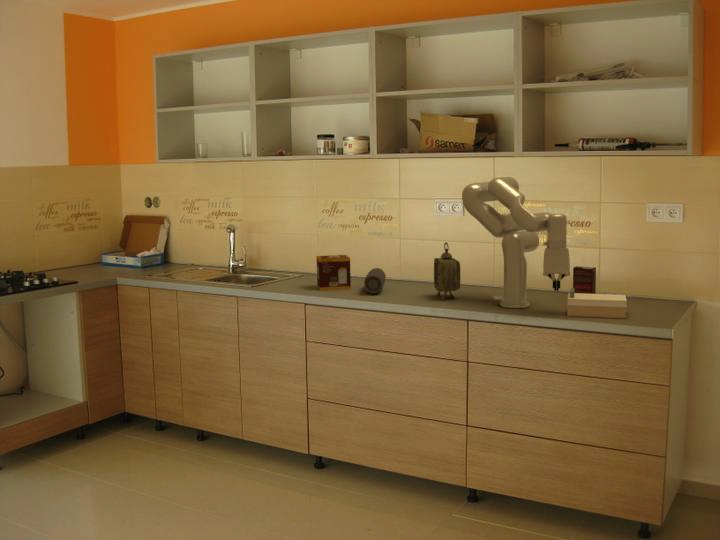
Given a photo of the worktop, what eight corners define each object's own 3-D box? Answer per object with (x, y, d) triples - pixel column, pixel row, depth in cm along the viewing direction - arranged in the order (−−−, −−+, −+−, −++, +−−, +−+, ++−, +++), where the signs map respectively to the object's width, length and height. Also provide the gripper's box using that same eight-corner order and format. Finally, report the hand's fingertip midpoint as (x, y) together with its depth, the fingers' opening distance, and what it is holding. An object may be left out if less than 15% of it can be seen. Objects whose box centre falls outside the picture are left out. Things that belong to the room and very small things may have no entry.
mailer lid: (567, 305, 313) (567, 292, 312) (568, 299, 325) (568, 287, 324) (626, 307, 307) (626, 294, 306) (625, 301, 319) (625, 288, 318)
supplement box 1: (316, 287, 390) (316, 255, 387) (347, 285, 392) (347, 254, 390) (319, 290, 379) (318, 258, 377) (351, 289, 382) (350, 257, 379)
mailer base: (567, 316, 314) (567, 300, 314) (568, 310, 325) (568, 295, 324) (625, 318, 308) (626, 302, 307) (624, 312, 319) (625, 297, 318)
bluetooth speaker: (383, 295, 364) (383, 274, 363) (363, 295, 365) (362, 274, 364) (386, 287, 386) (386, 266, 385) (367, 287, 387) (367, 266, 386)
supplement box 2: (595, 304, 337) (596, 267, 334) (592, 306, 333) (593, 268, 330) (575, 302, 341) (576, 265, 339) (571, 304, 338) (572, 267, 335)
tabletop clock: (433, 295, 363) (433, 240, 359) (453, 294, 364) (453, 240, 360) (440, 301, 349) (440, 244, 345) (460, 300, 350) (461, 244, 346)
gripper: (536, 245, 315) (536, 291, 318) (575, 246, 311) (575, 292, 314) (538, 243, 323) (538, 288, 325) (576, 243, 318) (575, 289, 321)
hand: (556, 290), depth 319 cm, fingers closed
